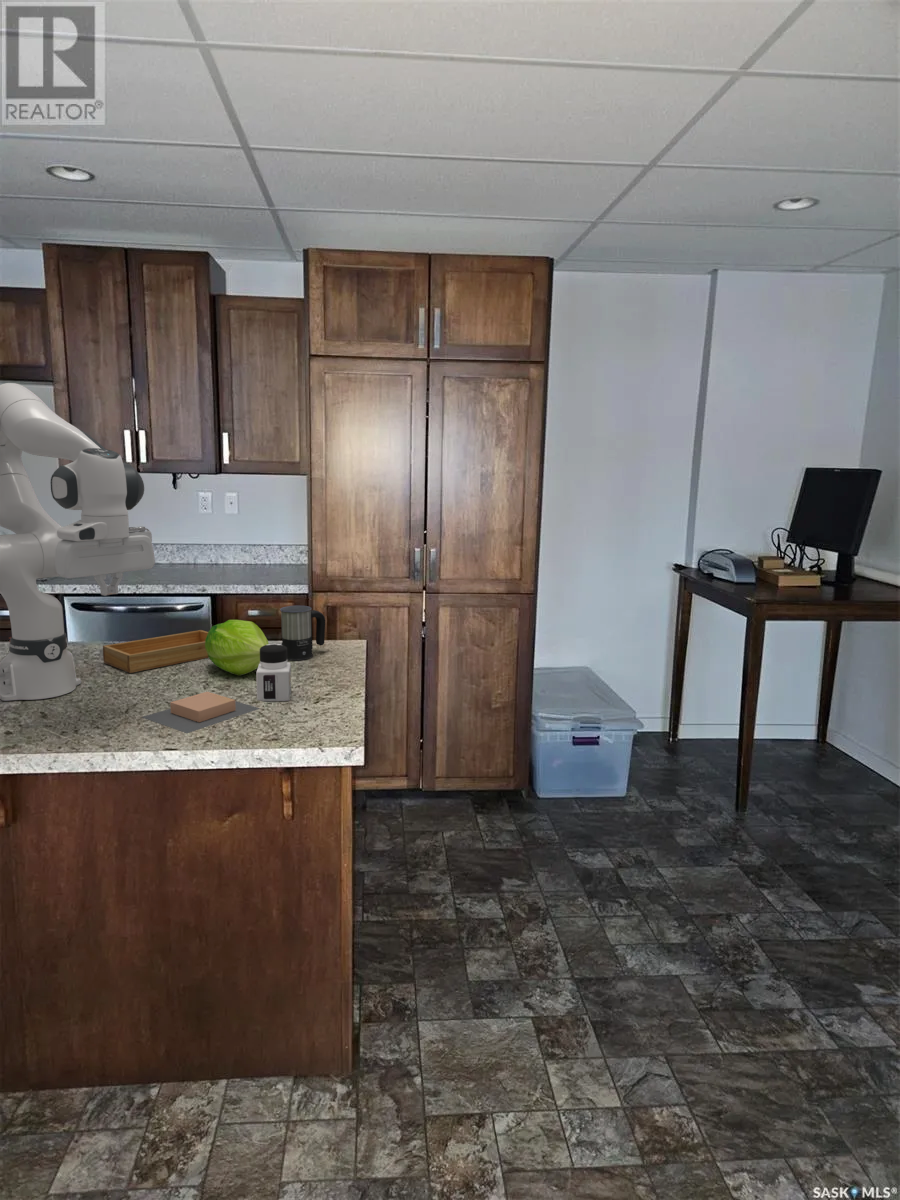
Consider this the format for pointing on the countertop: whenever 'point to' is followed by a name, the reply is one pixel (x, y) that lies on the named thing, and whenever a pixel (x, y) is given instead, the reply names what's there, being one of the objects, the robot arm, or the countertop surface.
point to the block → (202, 706)
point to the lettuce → (235, 646)
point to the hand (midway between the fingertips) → (109, 594)
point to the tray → (156, 651)
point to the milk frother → (301, 631)
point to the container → (273, 674)
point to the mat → (191, 725)
